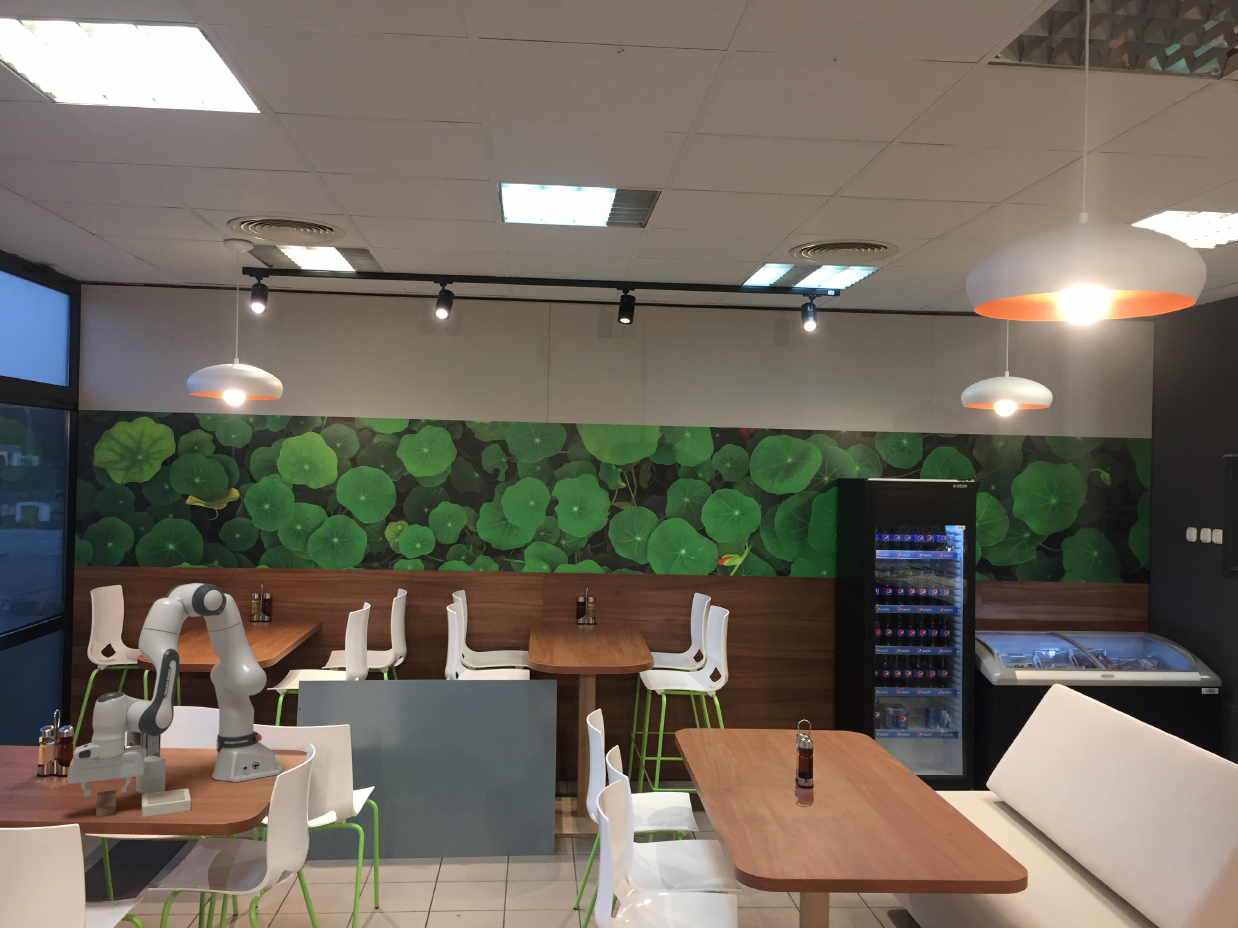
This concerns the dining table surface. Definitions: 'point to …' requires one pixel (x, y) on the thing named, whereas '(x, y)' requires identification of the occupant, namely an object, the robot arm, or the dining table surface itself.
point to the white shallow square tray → (165, 802)
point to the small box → (152, 776)
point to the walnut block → (106, 803)
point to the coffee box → (145, 742)
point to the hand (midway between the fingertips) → (105, 794)
